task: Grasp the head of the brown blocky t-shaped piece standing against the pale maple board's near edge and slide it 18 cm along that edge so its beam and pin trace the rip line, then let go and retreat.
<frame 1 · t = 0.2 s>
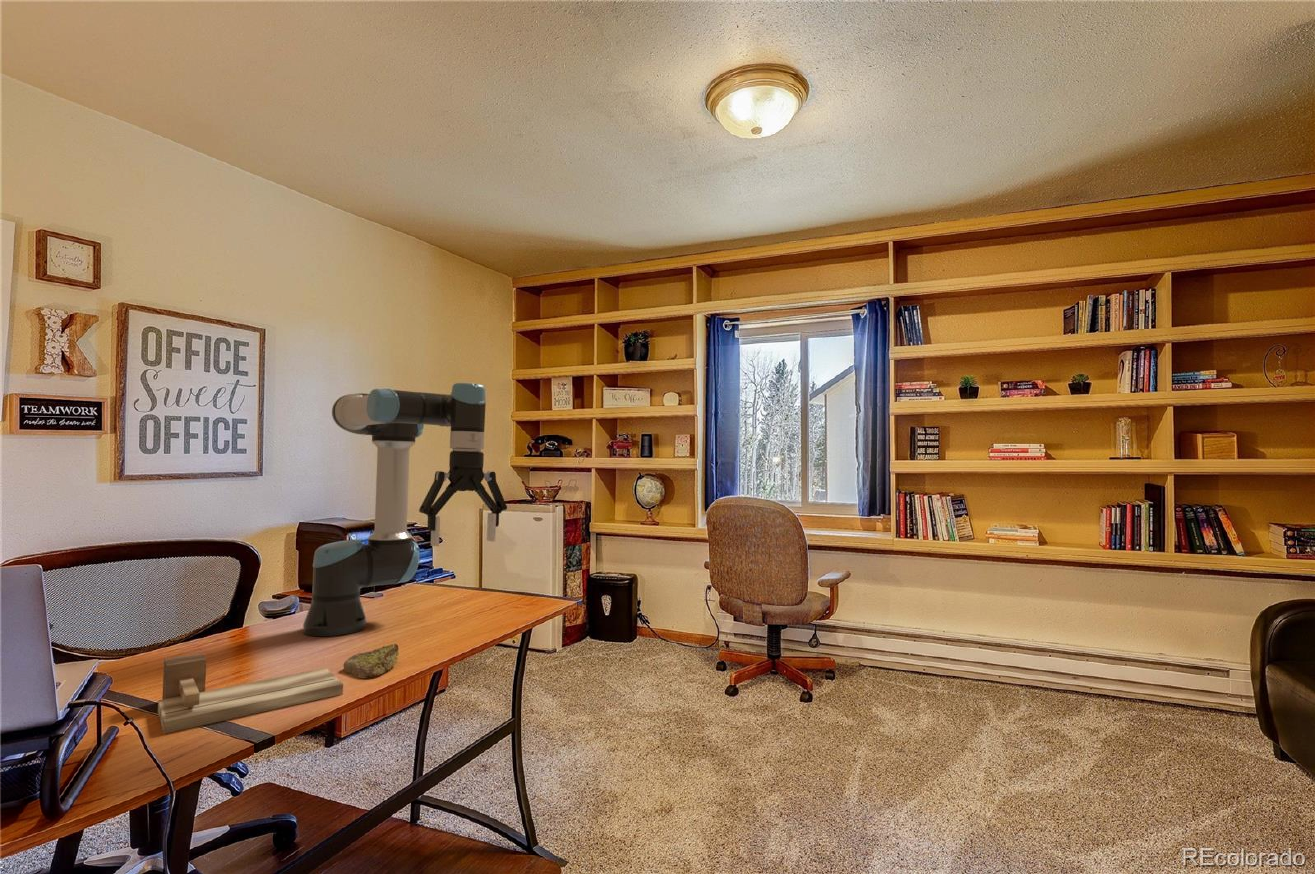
hand: (463, 543, 142), 28 cm above the table, fingers open, 13 cm apart
board: (254, 702, 118), on the table
rock: (370, 670, 138), on the table
brown blocky t-shaped piece: (183, 701, 118), on the table
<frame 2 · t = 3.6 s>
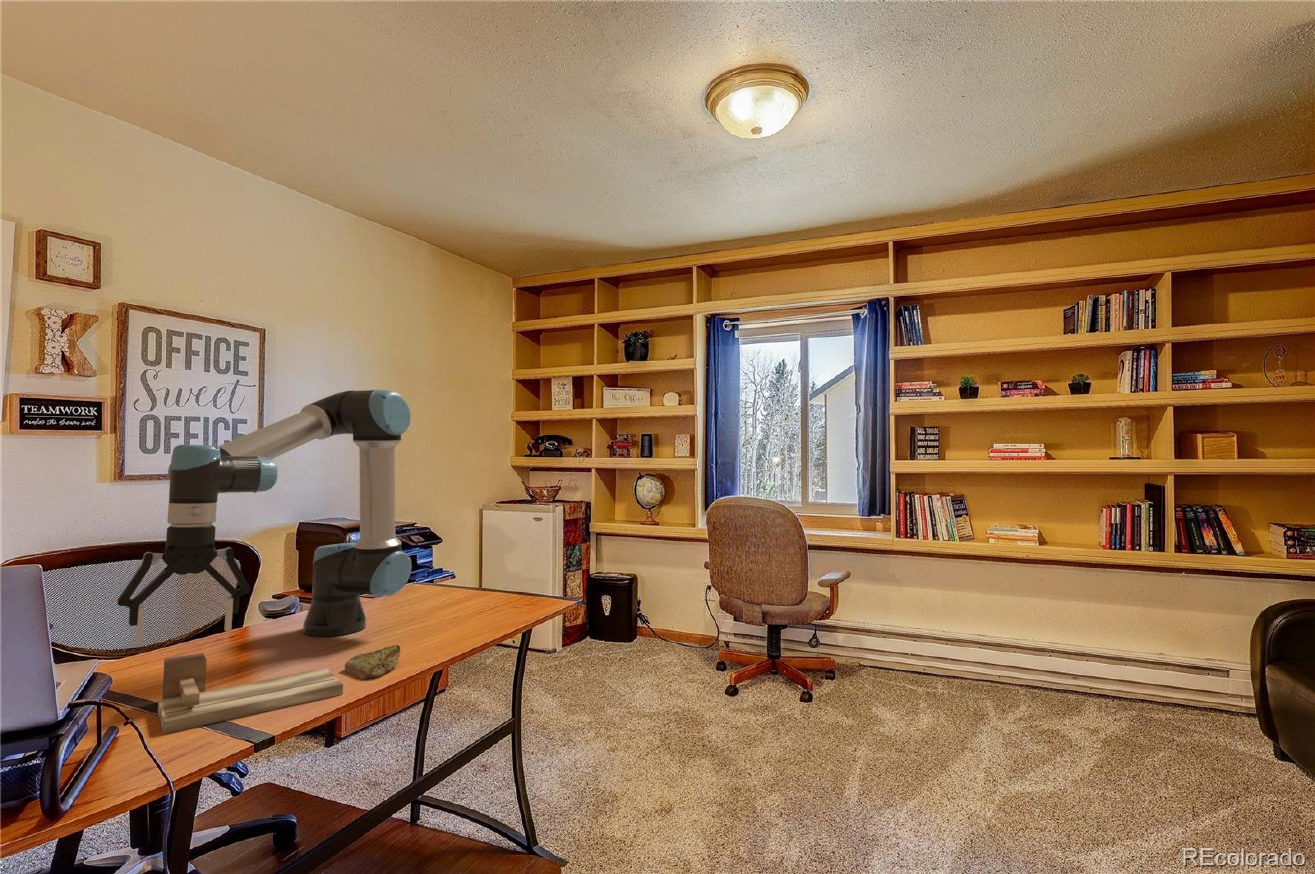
hand: (184, 636, 118), 12 cm above the table, fingers open, 13 cm apart
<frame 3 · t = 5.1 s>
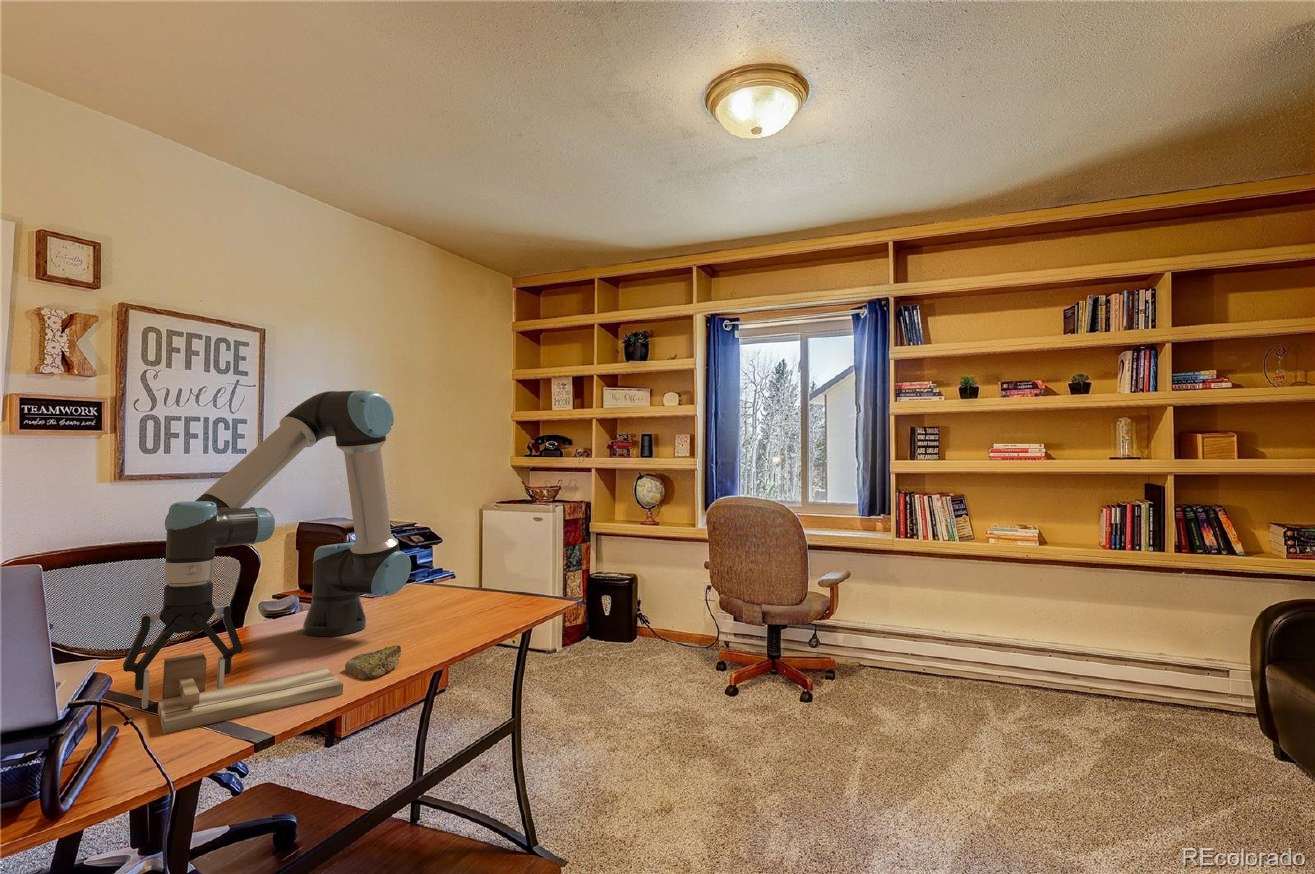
hand: (183, 698, 118), 0 cm above the table, fingers open, 11 cm apart
nothing on the table moved.
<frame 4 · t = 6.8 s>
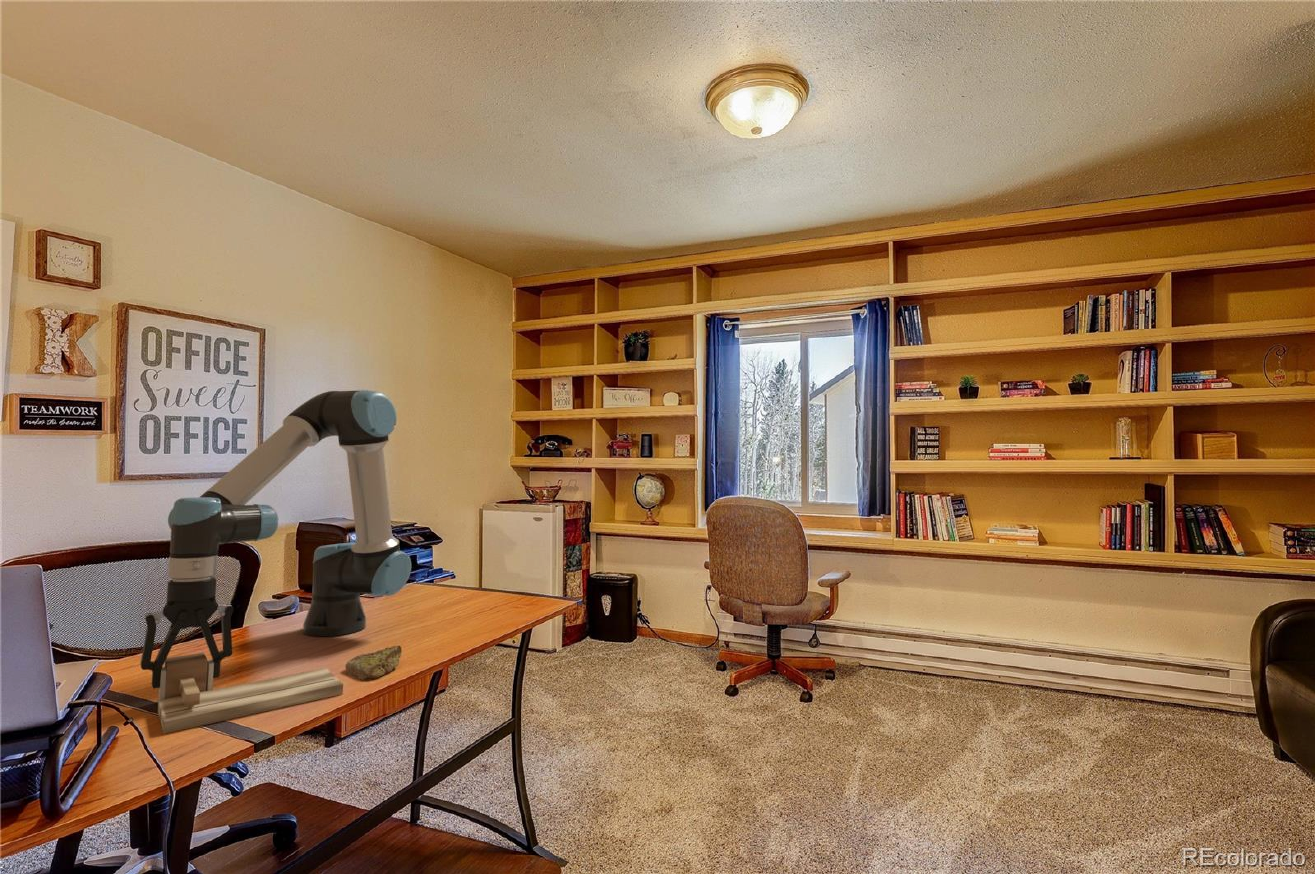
hand: (185, 699, 118), 0 cm above the table, fingers open, 6 cm apart
brown blocky t-shaped piece: (183, 701, 118), on the table, touching gripper
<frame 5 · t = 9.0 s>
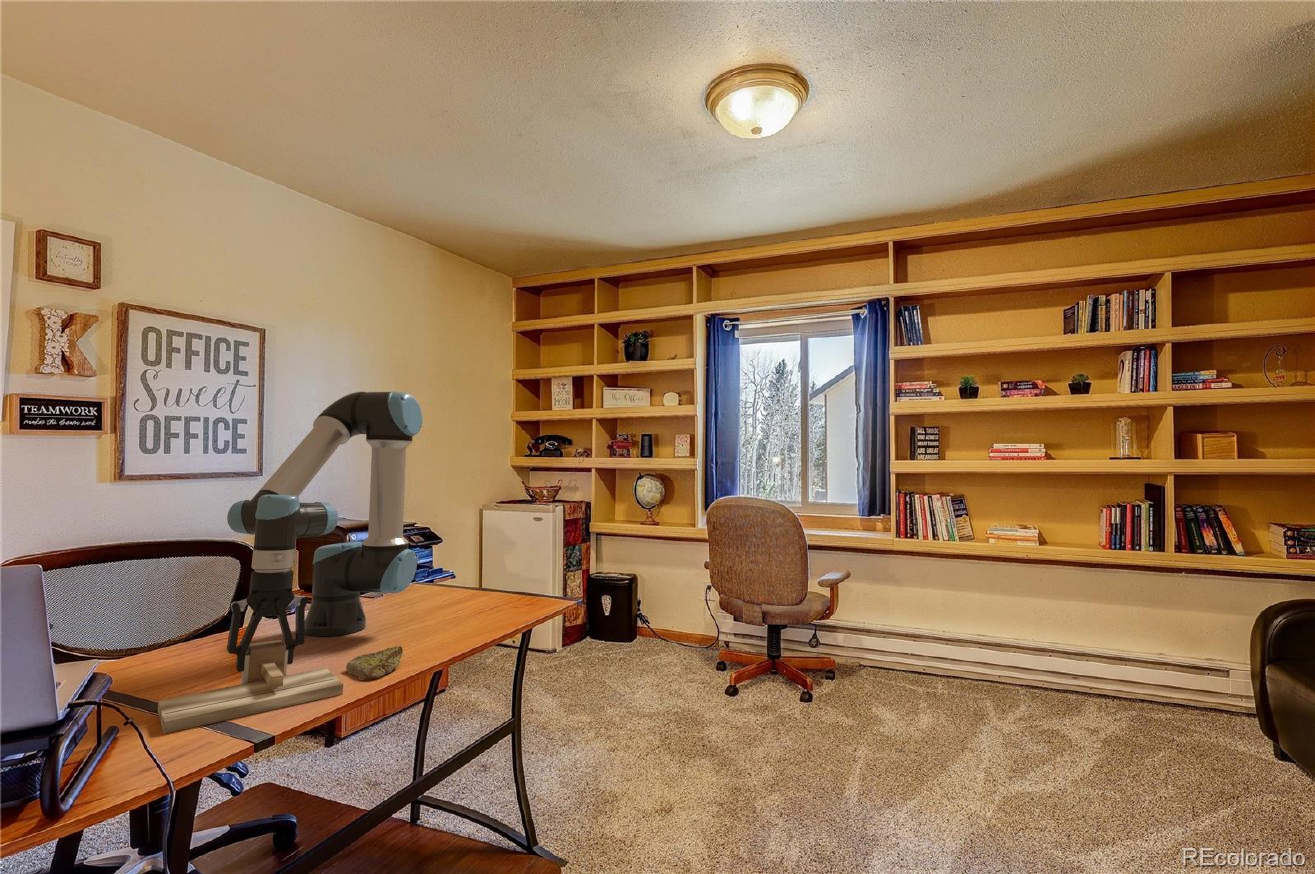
hand: (263, 683, 127), 0 cm above the table, fingers closed on brown blocky t-shaped piece, 6 cm apart
brown blocky t-shaped piece: (263, 684, 127), on the table, touching gripper
when the fingers open (0 cm above the table, at t = 11.1 s): brown blocky t-shaped piece stays where it is, on the table.
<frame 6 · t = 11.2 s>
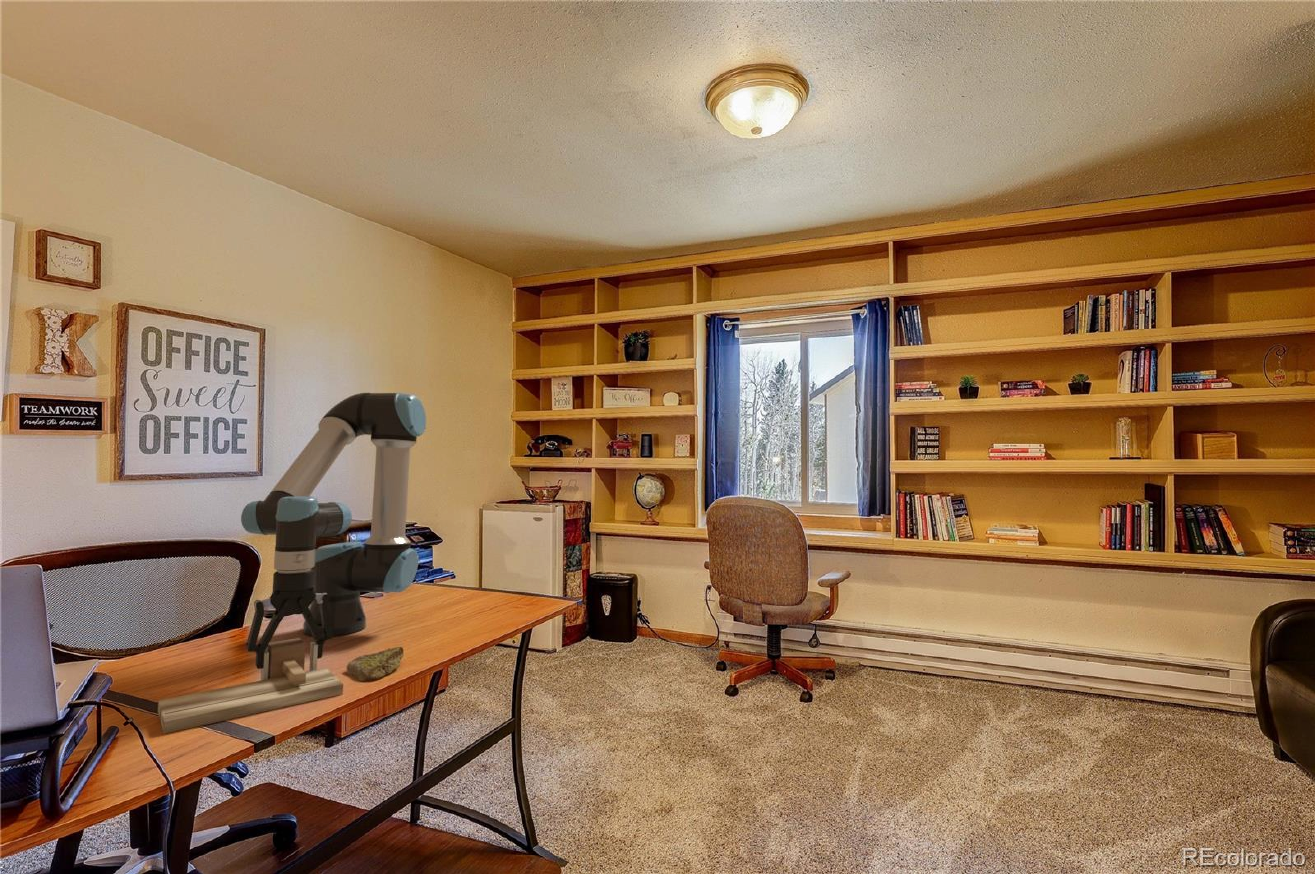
hand: (288, 678, 130), 0 cm above the table, fingers open, 8 cm apart
brown blocky t-shaped piece: (284, 681, 129), on the table
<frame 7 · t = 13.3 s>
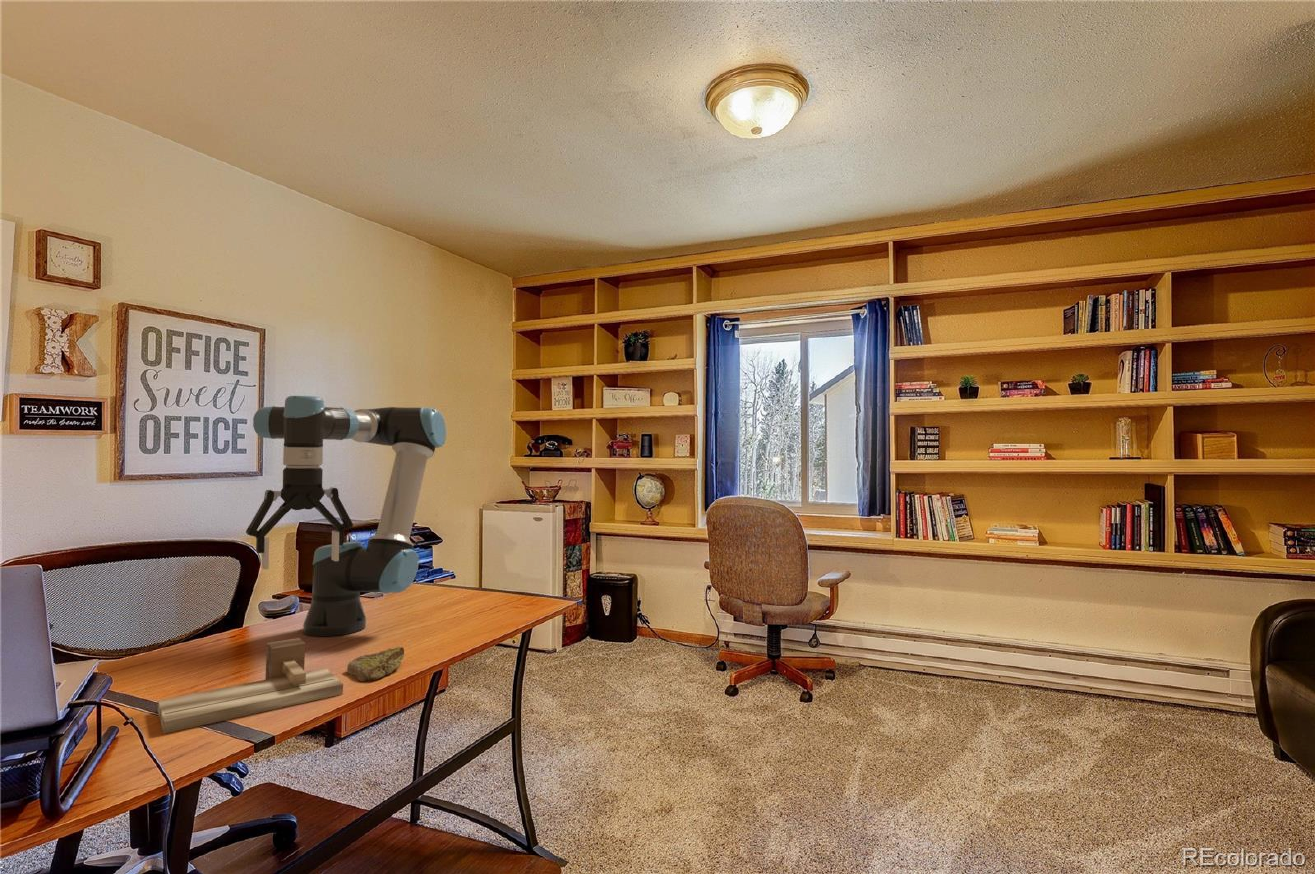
hand: (301, 564, 135), 23 cm above the table, fingers open, 13 cm apart
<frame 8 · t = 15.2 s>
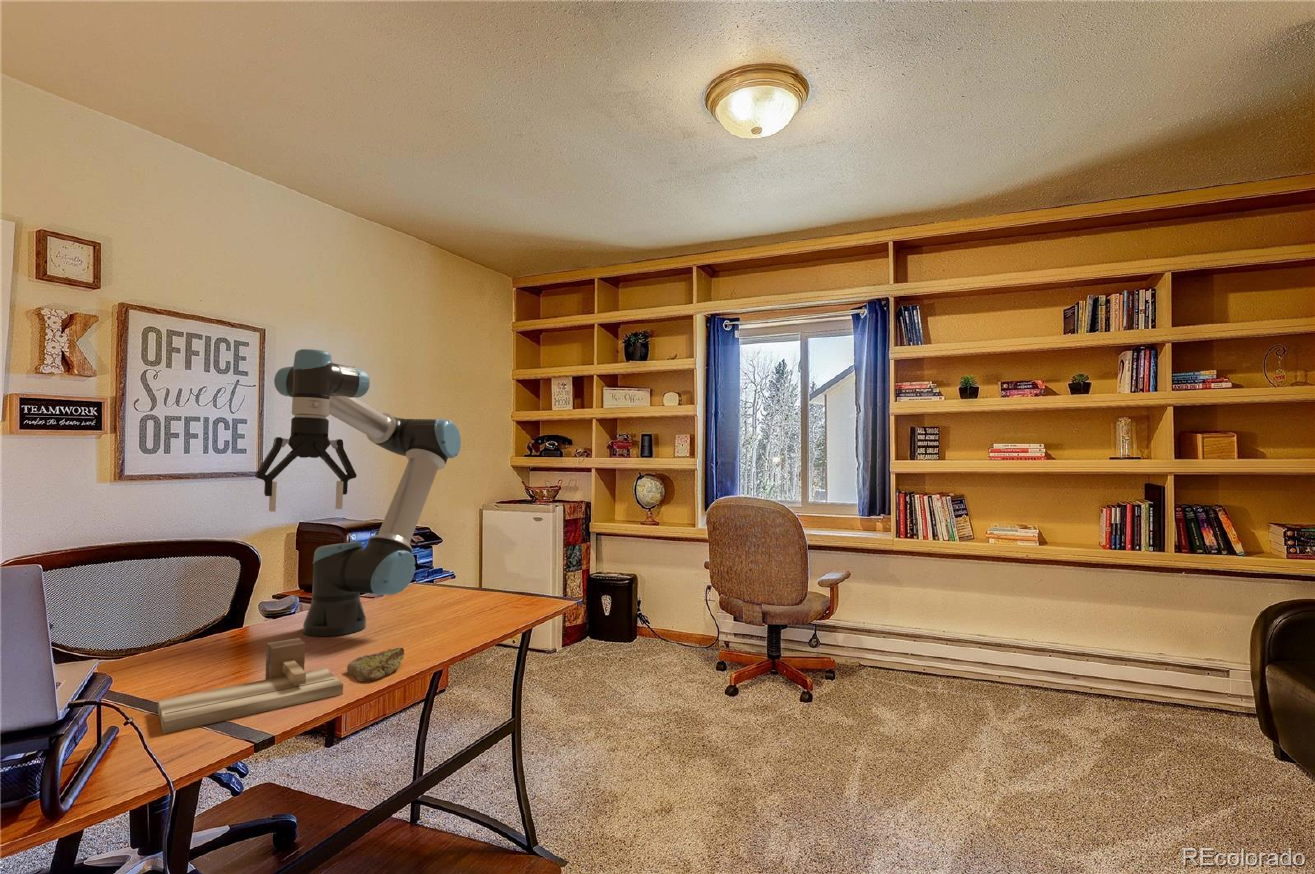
hand: (306, 510, 142), 35 cm above the table, fingers open, 13 cm apart
at the end: brown blocky t-shaped piece 1.8 cm from the target spot on the table beside the board, on the table; brown blocky t-shaped piece tilted 0°; brown blocky t-shaped piece moved 16.8 cm from its start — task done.
